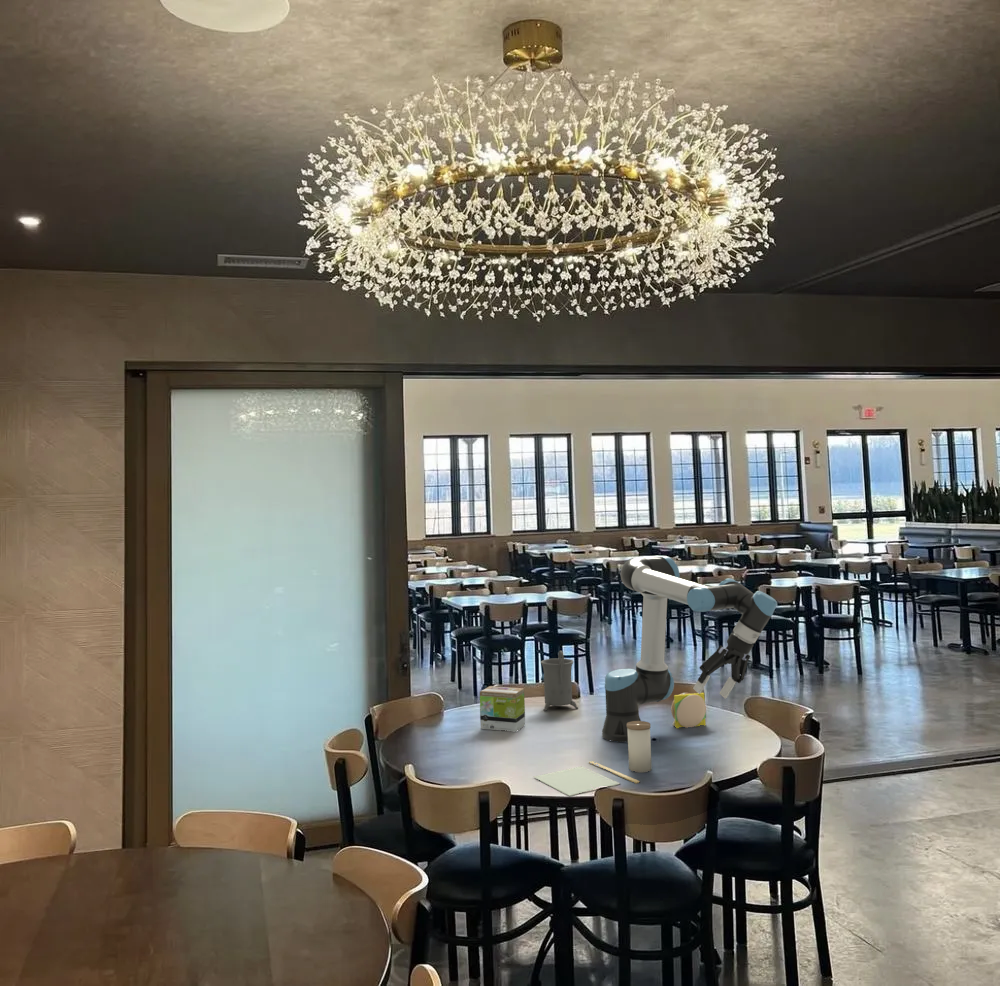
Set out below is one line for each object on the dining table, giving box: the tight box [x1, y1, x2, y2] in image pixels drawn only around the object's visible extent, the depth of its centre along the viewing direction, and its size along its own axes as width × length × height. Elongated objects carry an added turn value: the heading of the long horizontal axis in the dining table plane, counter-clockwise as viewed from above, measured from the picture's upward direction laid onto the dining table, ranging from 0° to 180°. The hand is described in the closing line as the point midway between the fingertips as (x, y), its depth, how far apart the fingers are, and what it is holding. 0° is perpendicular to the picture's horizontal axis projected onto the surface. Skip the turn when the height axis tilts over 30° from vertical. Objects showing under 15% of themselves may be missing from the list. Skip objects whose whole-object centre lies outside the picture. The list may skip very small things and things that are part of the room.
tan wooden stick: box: [588, 760, 641, 784], centre depth 248 cm, size 24×2×1 cm, turn 29°
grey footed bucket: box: [540, 650, 579, 712], centre depth 334 cm, size 19×15×25 cm
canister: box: [627, 720, 653, 773], centre depth 250 cm, size 7×7×14 cm
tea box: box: [479, 685, 526, 732], centre depth 306 cm, size 15×10×15 cm, turn 68°
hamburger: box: [670, 692, 707, 729], centre depth 299 cm, size 12×8×12 cm
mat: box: [533, 765, 621, 797], centre depth 241 cm, size 20×18×1 cm
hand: (709, 693), depth 255 cm, fingers open, 13 cm apart
